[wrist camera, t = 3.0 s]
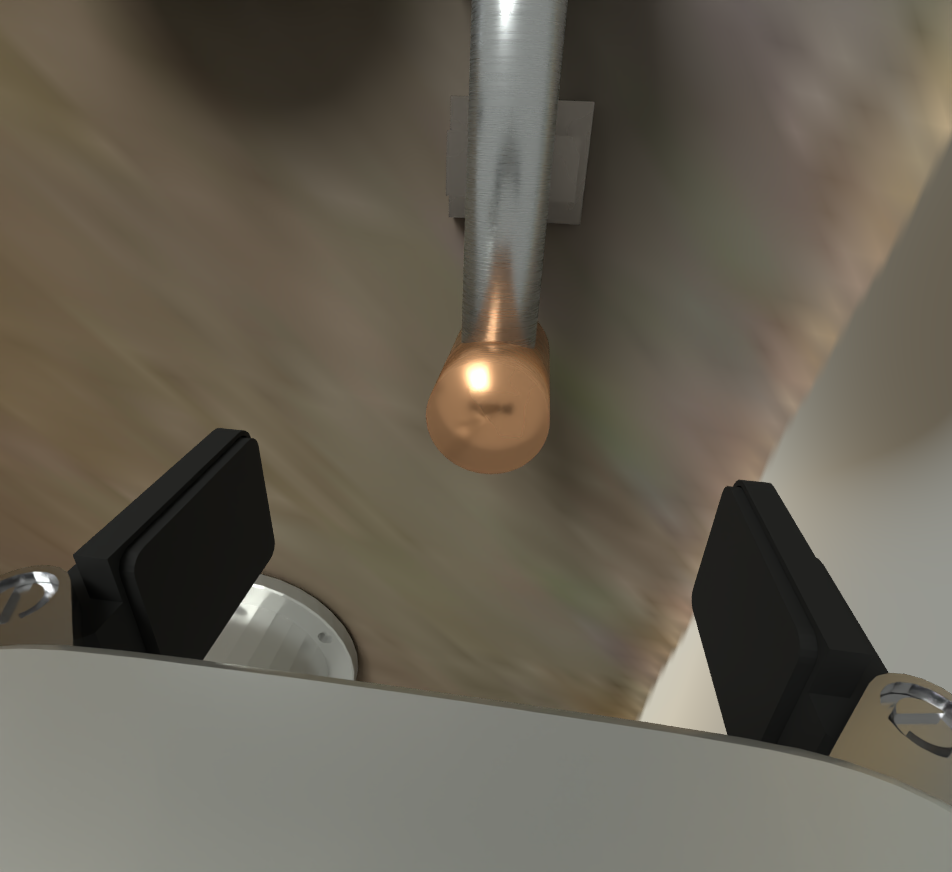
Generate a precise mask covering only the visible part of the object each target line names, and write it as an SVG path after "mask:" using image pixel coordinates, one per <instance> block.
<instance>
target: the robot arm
mask: <svg viewBox="0 0 952 872" xmlns="http://www.w3.org/2000/svg"><path fill="white" fill-rule="evenodd" d="M274 545H275V541H274V534H273V528H272V522H271V517H270V511H269V505H268V499H267V493H266V487H265V481H264V476H263V470H262V464H261V458H260V452H259V446H258V443H257V441H256V440H255V439H254V438H251V437H250V435H249V433H248V432H246V431H243V430H233V429H223V428H217V429H215V430H213V431H212V432H211V433H210V434H209V435H208V436H207V437H206V438H204V439H203V440H202V441H201V442H200V443H199V444H198V445H197V446H195V447H194V448H193V449H192V450H191V451H190V452H189V453H187V454H186V455H185V456H184V457H183V458H182V459H181V460H180V461H178V462H177V463H176V464H175V465H174V466H173V467H172V468H170V469H169V470H168V471H167V472H166V473H165V474H164V475H163V476H161V477H160V478H159V479H158V480H157V481H156V482H155V483H154V484H152V485H151V486H150V487H149V488H148V489H147V490H146V491H144V492H143V493H142V494H141V495H140V496H139V497H138V498H137V499H135V500H134V501H133V502H132V503H131V504H130V505H129V506H128V507H126V508H125V509H124V510H123V511H122V512H121V513H120V514H118V515H117V516H116V517H115V518H114V519H113V520H112V521H111V522H109V523H108V524H107V525H106V526H105V527H104V528H103V529H102V530H100V531H99V532H98V533H97V534H96V535H95V536H94V537H92V538H91V539H90V540H89V541H88V542H87V543H86V544H85V545H83V546H82V547H81V548H80V549H79V550H78V551H77V552H76V553H74V554H73V557H74V559H75V562H76V564H75V565H74V566H73V567H72V568H71V569H70V570H69V571H68V572H66V571H64V570H63V569H62V568H60V567H55V566H50V565H41V566H30V567H26V568H21V569H17V570H14V571H11V572H8V573H5V574H3V575H0V872H952V694H951V693H949V692H948V691H946V690H945V689H943V688H942V687H939V686H937V685H935V684H933V683H931V682H929V681H926V680H924V679H922V678H918V677H914V676H911V675H907V674H898V673H888V671H887V669H886V668H885V666H884V664H883V663H882V661H881V659H880V658H879V656H878V654H877V653H876V651H875V649H874V648H873V646H872V644H871V643H870V641H869V640H868V638H867V636H866V634H865V633H864V631H863V630H862V628H861V626H860V624H859V623H858V621H857V620H856V618H855V616H854V615H853V613H852V611H851V610H850V608H849V606H848V605H847V603H846V601H845V600H844V598H843V597H842V595H841V593H840V591H839V590H838V588H837V586H836V585H835V583H834V581H833V580H832V578H831V576H830V575H829V573H828V571H827V570H826V568H825V566H824V565H823V564H822V563H821V561H820V560H819V559H818V558H816V557H815V555H814V553H813V552H812V550H811V549H810V547H809V545H808V543H807V542H806V540H805V538H804V537H803V535H802V533H801V532H800V530H799V528H798V527H797V525H796V523H795V521H794V520H793V518H792V517H791V515H790V513H789V511H788V510H787V508H786V506H785V505H784V503H783V501H782V500H781V498H780V496H779V495H778V493H777V491H776V490H775V488H774V486H773V485H772V484H771V483H766V482H756V481H746V480H738V481H736V483H735V484H734V486H733V487H731V486H727V487H725V488H724V490H723V493H722V496H721V499H720V502H719V505H718V509H717V512H716V515H715V519H714V522H713V525H712V528H711V532H710V535H709V538H708V542H707V545H706V548H705V551H704V555H703V558H702V561H701V565H700V568H699V571H698V575H697V578H696V581H695V584H694V588H693V592H692V608H693V612H694V616H695V620H696V623H697V627H698V630H699V634H700V637H701V641H702V645H703V648H704V652H705V656H706V659H707V662H708V666H709V670H710V674H711V677H712V681H713V685H714V688H715V691H716V695H717V699H718V703H719V706H720V710H721V713H722V717H723V720H724V724H725V728H726V731H727V735H723V734H717V733H710V732H705V731H698V730H692V729H685V728H679V727H673V726H666V725H661V724H654V723H648V722H641V721H634V720H628V719H621V718H614V717H607V716H600V715H593V714H586V713H579V712H573V711H566V710H559V709H552V708H545V707H538V706H531V705H524V704H518V703H511V702H504V701H497V700H490V699H483V698H476V697H468V696H461V695H454V694H447V693H440V692H433V691H426V690H419V689H412V688H404V687H397V686H390V685H383V684H375V683H368V682H361V681H356V677H357V672H358V659H357V653H356V650H355V647H354V644H353V641H352V639H351V637H350V636H349V634H348V632H347V631H346V629H345V627H344V626H343V625H342V623H341V622H340V621H339V620H338V619H337V618H336V616H335V615H334V614H333V613H332V612H331V611H330V610H329V609H328V608H326V607H325V606H324V605H323V604H322V603H320V602H319V601H318V600H317V599H315V598H314V597H312V596H311V595H309V594H307V593H306V592H304V591H303V590H301V589H299V588H297V587H295V586H293V585H290V584H288V583H286V582H284V581H282V580H279V579H276V578H272V577H269V576H265V575H262V574H261V572H262V571H263V569H264V568H265V566H266V565H267V563H268V562H269V560H270V559H271V557H272V554H273V551H274Z"/></svg>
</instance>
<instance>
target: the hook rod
mask: <svg viewBox="0 0 952 872" xmlns="http://www.w3.org/2000/svg"><path fill="white" fill-rule="evenodd" d="M567 3H568V0H472V11H471V43H470V75H469V108H468V140H467V173H466V205H465V238H464V270H463V302H462V329H461V330H460V332H459V334H458V337H457V339H456V341H455V343H454V345H453V347H452V350H451V352H450V354H449V356H448V358H447V360H446V363H445V365H444V367H443V369H442V371H441V373H440V375H439V378H438V380H437V382H436V384H435V386H434V388H433V391H432V393H431V395H430V398H429V400H428V404H427V410H426V421H427V427H428V431H429V434H430V436H431V438H432V440H433V442H434V444H435V445H436V447H437V448H438V450H439V451H440V452H441V453H442V454H443V455H444V456H445V457H446V458H447V459H449V460H450V461H451V462H453V463H454V464H456V465H458V466H460V467H462V468H464V469H466V470H469V471H473V472H476V473H483V474H499V473H505V472H509V471H512V470H515V469H517V468H519V467H521V466H523V465H525V464H526V463H528V462H529V461H530V460H531V459H533V458H534V457H535V456H536V455H537V453H538V452H539V451H540V449H541V448H542V447H543V445H544V443H545V441H546V438H547V435H548V431H549V426H550V366H549V343H548V339H547V336H546V334H545V332H544V330H543V328H542V327H541V325H540V324H539V323H538V322H537V320H538V309H539V299H540V288H541V278H542V267H543V256H544V246H545V235H546V225H547V214H548V204H549V193H550V182H551V172H552V161H553V151H554V140H555V130H556V119H557V108H558V98H559V87H560V77H561V66H562V56H563V45H564V34H565V24H566V13H567Z"/></svg>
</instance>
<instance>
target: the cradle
mask: <svg viewBox="0 0 952 872" xmlns="http://www.w3.org/2000/svg"><path fill="white" fill-rule="evenodd" d="M594 104H595V102H588V101H564V100H558V108H557V119H556V130H555V140H554V151H553V161H552V172H551V182H550V193H549V204H548V214H547V223H559V224H576V225H580V220H581V212H582V204H583V195H584V187H585V179H586V170H587V162H588V154H589V146H590V137H591V129H592V121H593V112H594ZM468 108H469V97H468V96H451V124H450V130H447V163H446V196H449V217H457V218H465V205H466V173H467V140H468Z"/></svg>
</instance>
